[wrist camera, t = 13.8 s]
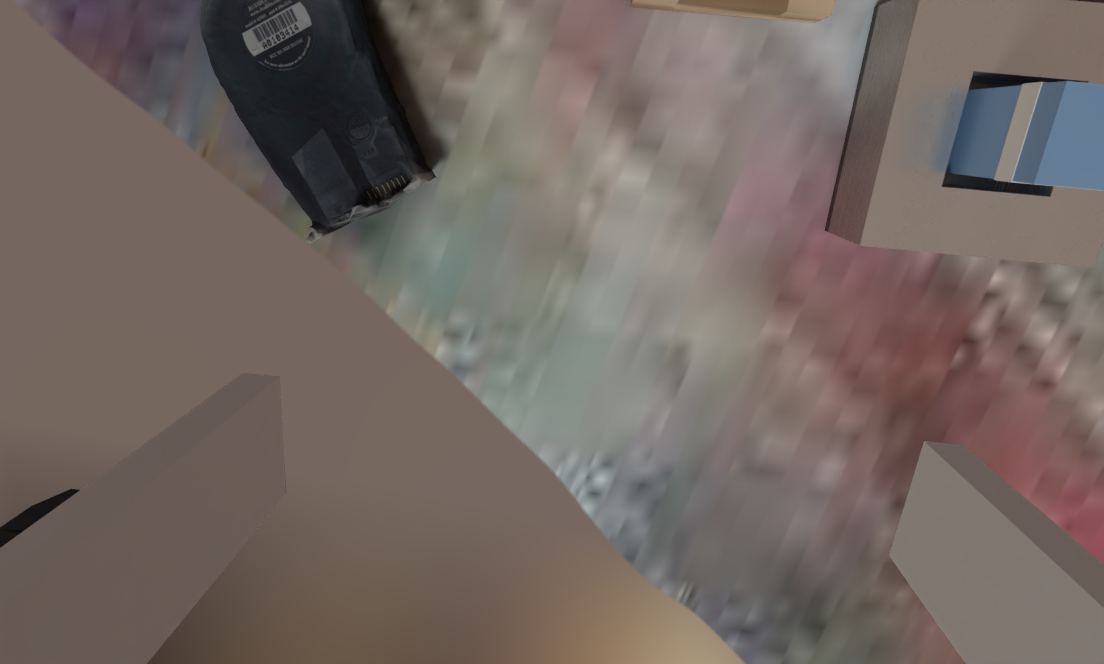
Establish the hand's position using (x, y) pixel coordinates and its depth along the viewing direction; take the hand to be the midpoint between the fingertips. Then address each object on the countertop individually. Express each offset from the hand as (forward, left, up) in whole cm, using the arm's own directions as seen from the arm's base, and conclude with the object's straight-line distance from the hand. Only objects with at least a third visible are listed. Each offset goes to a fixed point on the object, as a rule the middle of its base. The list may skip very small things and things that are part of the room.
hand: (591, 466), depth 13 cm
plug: (-8, +20, -26) cm, 34 cm away
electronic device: (-7, -16, -27) cm, 33 cm away
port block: (-8, +20, -27) cm, 34 cm away
